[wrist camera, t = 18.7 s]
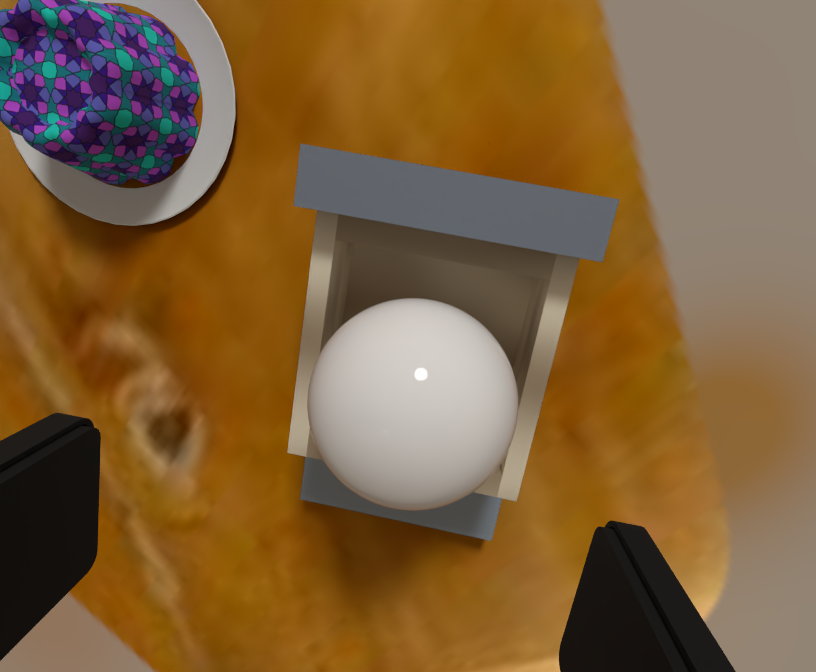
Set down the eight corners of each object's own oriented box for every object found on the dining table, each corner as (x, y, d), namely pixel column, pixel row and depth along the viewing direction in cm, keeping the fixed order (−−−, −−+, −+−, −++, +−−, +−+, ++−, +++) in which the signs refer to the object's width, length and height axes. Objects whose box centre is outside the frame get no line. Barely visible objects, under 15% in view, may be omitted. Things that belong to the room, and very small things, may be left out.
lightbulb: (404, 425, 24) (355, 592, 14) (336, 309, 23) (228, 395, 13) (526, 367, 23) (575, 503, 13) (460, 241, 22) (451, 275, 12)
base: (490, 524, 28) (499, 641, 21) (308, 484, 29) (251, 585, 21) (569, 202, 24) (619, 199, 16) (352, 163, 25) (300, 143, 17)
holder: (507, 448, 25) (516, 501, 21) (318, 409, 26) (287, 452, 21) (556, 246, 23) (579, 256, 18) (346, 208, 23) (317, 208, 19)
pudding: (5, -54, 24) (-117, -123, 19) (250, -22, 23) (191, -86, 18) (17, 206, 27) (-85, 206, 22) (234, 242, 26) (180, 249, 21)
